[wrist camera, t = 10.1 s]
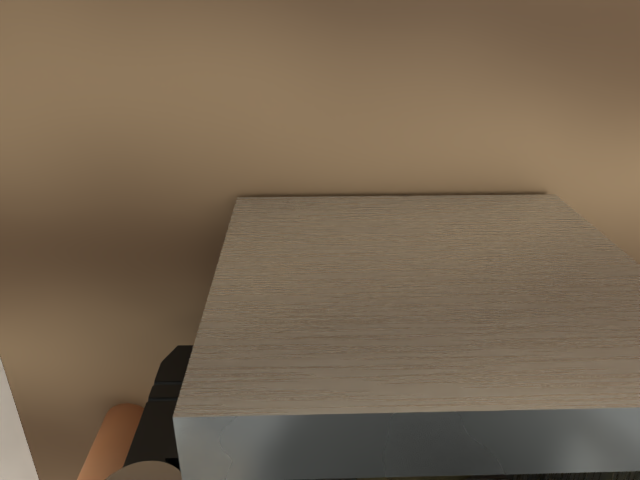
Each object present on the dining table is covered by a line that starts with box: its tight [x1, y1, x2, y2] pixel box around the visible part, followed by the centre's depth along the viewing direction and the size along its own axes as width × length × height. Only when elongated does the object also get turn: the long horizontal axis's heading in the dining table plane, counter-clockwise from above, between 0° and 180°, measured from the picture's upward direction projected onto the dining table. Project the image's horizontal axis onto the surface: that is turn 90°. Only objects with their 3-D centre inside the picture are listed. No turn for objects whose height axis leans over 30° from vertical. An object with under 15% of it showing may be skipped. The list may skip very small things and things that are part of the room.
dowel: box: [77, 403, 144, 480], centre depth 12 cm, size 1×1×3 cm
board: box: [0, 0, 640, 480], centre depth 13 cm, size 20×22×2 cm
